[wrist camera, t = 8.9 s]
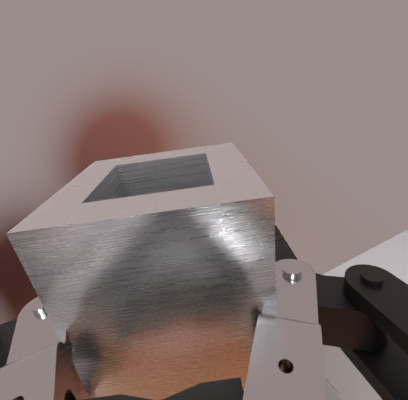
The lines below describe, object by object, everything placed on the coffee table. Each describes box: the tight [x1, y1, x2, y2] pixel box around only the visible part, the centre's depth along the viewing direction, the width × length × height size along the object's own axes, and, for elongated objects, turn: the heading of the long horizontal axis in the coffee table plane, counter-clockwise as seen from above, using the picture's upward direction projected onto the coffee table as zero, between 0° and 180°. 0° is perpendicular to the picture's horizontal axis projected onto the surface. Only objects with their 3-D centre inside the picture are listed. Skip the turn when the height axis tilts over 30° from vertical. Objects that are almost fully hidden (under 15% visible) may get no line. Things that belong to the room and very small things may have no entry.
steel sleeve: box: [7, 143, 276, 400], centre depth 10 cm, size 5×5×10 cm
